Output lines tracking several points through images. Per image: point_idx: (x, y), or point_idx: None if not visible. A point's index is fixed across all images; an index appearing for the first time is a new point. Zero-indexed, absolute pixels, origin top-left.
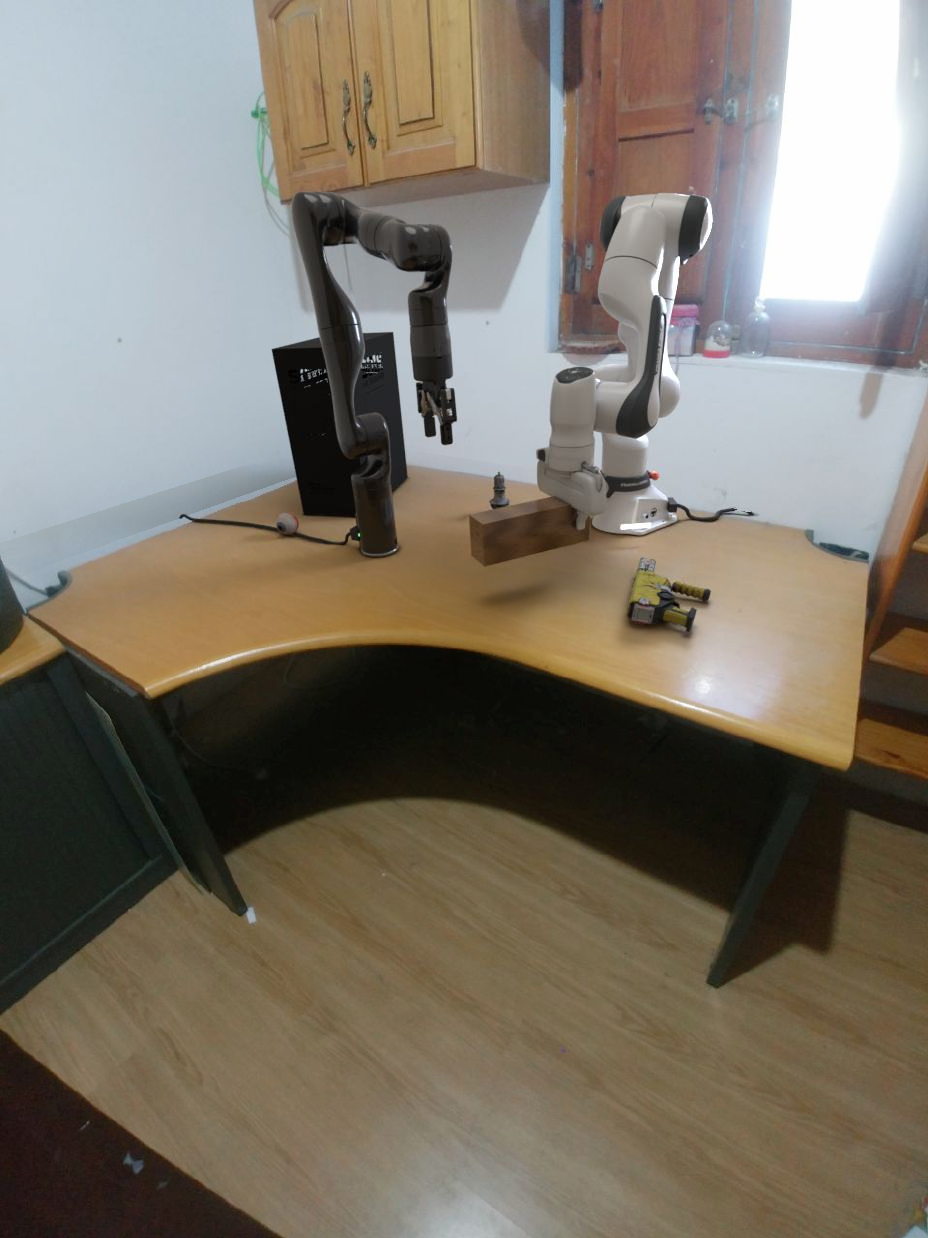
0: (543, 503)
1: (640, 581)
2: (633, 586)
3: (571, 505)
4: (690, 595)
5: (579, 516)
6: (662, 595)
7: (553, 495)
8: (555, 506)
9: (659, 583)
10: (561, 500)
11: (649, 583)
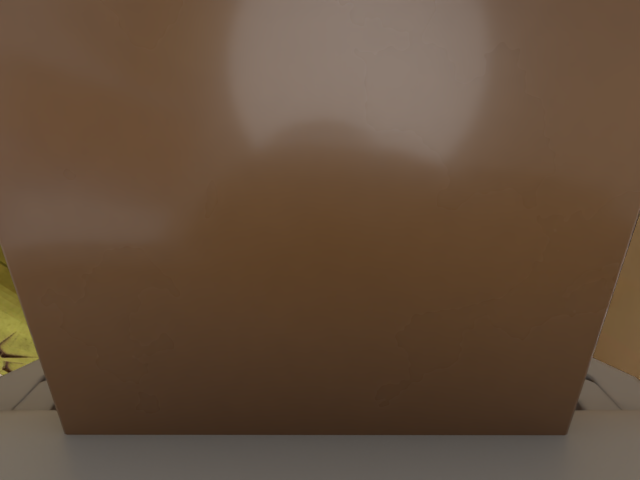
0: (364, 37)
1: (19, 331)
2: (6, 295)
3: (56, 423)
4: None
5: (38, 368)
6: None
7: (597, 433)
8: (43, 170)
9: (5, 371)
10: (305, 415)
11: (10, 347)
